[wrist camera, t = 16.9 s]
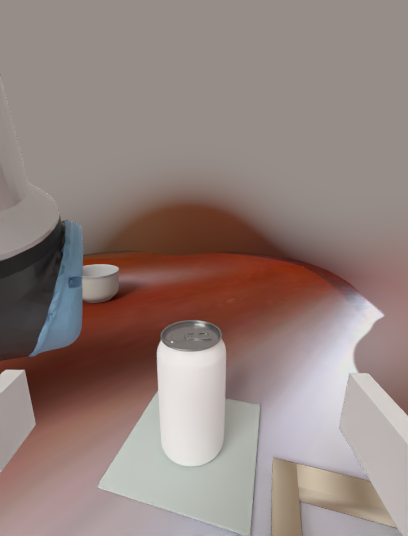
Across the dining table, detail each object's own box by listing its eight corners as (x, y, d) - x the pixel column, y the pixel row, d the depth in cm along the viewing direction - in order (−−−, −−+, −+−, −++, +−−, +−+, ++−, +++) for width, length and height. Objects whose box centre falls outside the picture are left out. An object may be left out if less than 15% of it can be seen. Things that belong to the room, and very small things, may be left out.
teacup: (121, 290, 73) (119, 262, 71) (120, 304, 63) (118, 272, 61) (66, 295, 69) (63, 266, 67) (56, 310, 59) (51, 277, 57)
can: (164, 415, 30) (159, 318, 27) (220, 413, 30) (222, 317, 27) (157, 472, 23) (150, 354, 20) (228, 468, 24) (232, 351, 21)
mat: (98, 487, 22) (97, 485, 22) (160, 387, 34) (160, 385, 34) (250, 537, 19) (250, 534, 19) (260, 407, 31) (260, 405, 31)
